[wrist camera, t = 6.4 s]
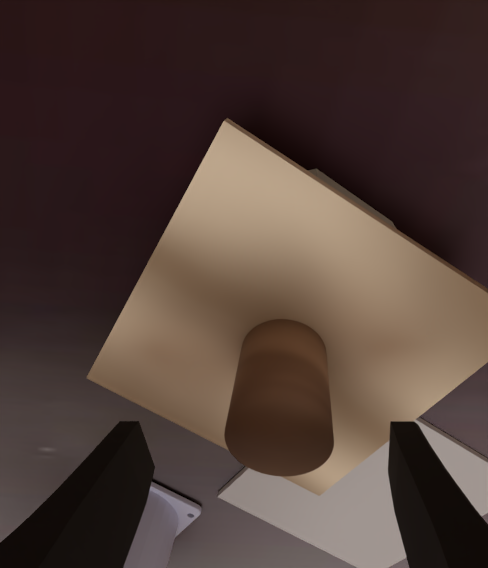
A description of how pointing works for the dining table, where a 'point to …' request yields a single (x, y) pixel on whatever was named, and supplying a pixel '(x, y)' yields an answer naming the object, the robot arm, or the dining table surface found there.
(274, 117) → the dining table surface
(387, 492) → the mat
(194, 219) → the board
